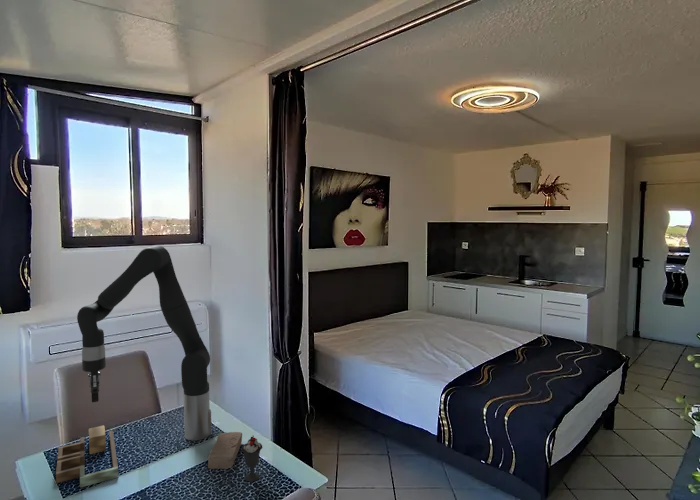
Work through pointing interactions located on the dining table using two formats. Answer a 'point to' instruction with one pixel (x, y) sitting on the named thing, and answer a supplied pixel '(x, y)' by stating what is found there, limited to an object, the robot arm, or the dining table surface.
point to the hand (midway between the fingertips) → (95, 401)
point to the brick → (225, 450)
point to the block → (97, 439)
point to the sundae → (251, 457)
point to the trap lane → (74, 459)
